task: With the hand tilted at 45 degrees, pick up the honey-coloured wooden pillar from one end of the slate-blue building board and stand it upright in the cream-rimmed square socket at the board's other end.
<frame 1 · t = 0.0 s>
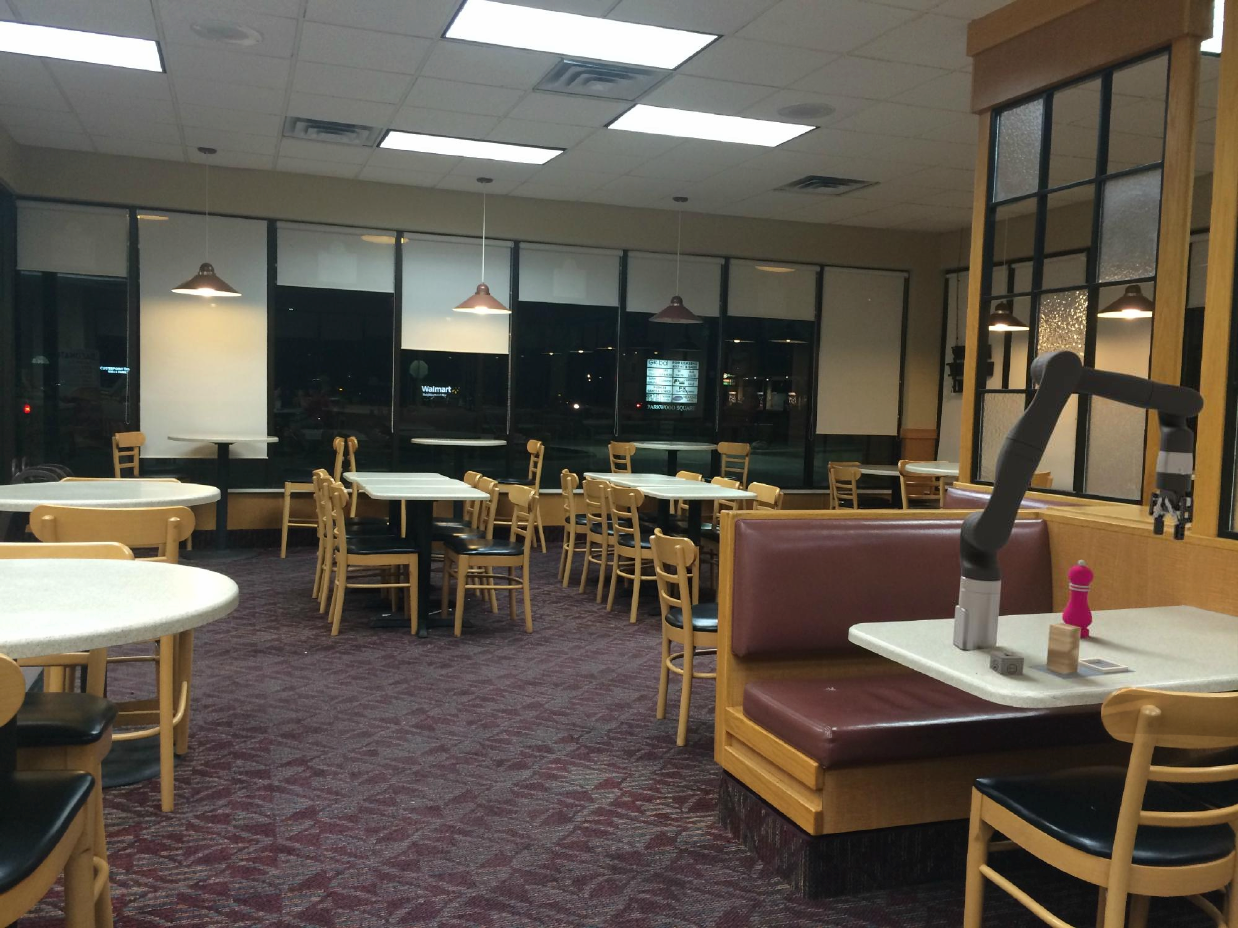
hand: (1168, 537, 233), 29 cm above the table, tool pointing down, fingers open, 8 cm apart
dice cube: (1005, 678, 209), on the table
building board: (1080, 673, 215), on the table
pepper mill: (1075, 635, 254), on the table
wooden pillar: (1061, 670, 212), point 1 cm above the table, touching building board
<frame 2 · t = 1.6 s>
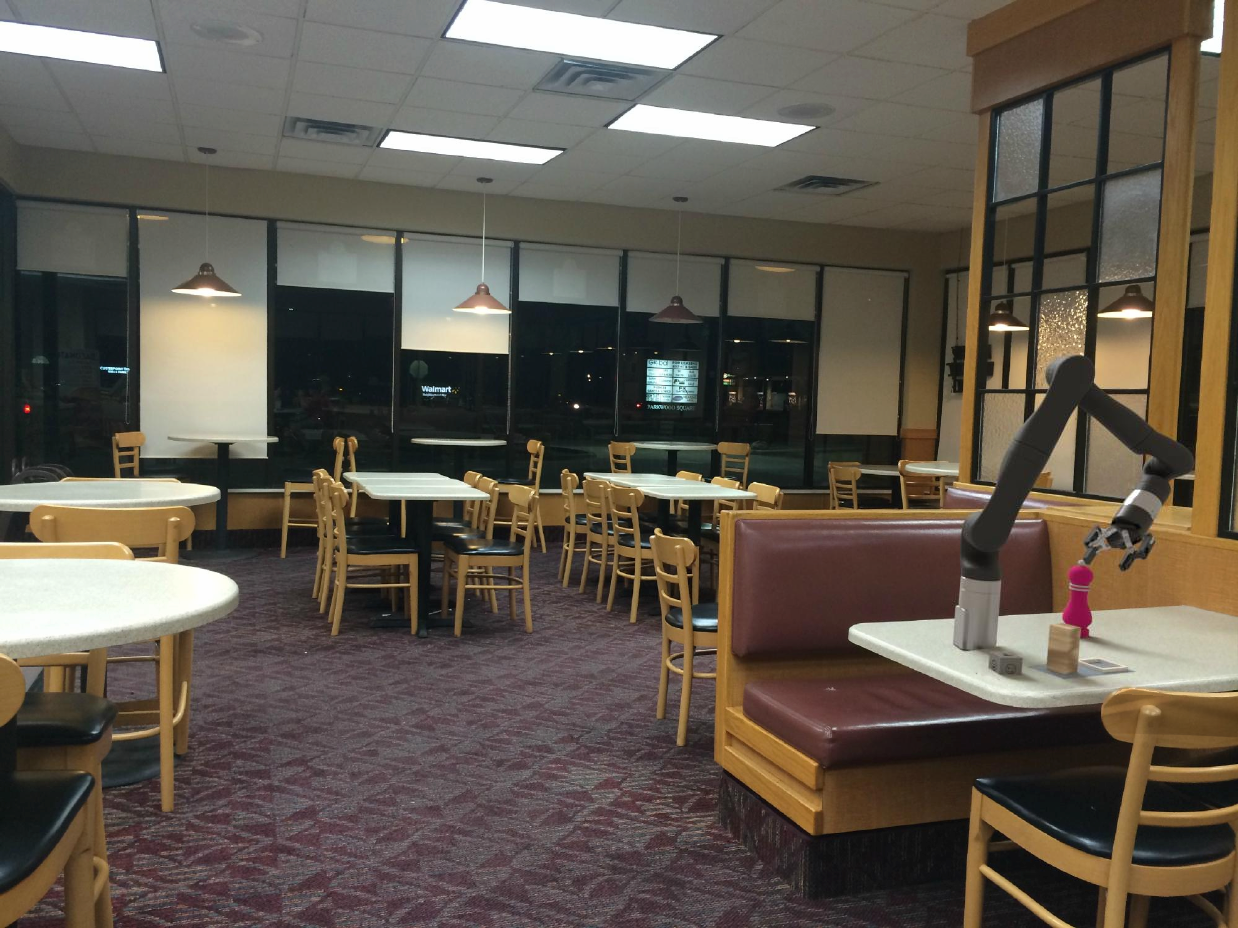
hand: (1103, 565, 216), 24 cm above the table, tool tilted 45°, fingers open, 8 cm apart
nothing on the table moved.
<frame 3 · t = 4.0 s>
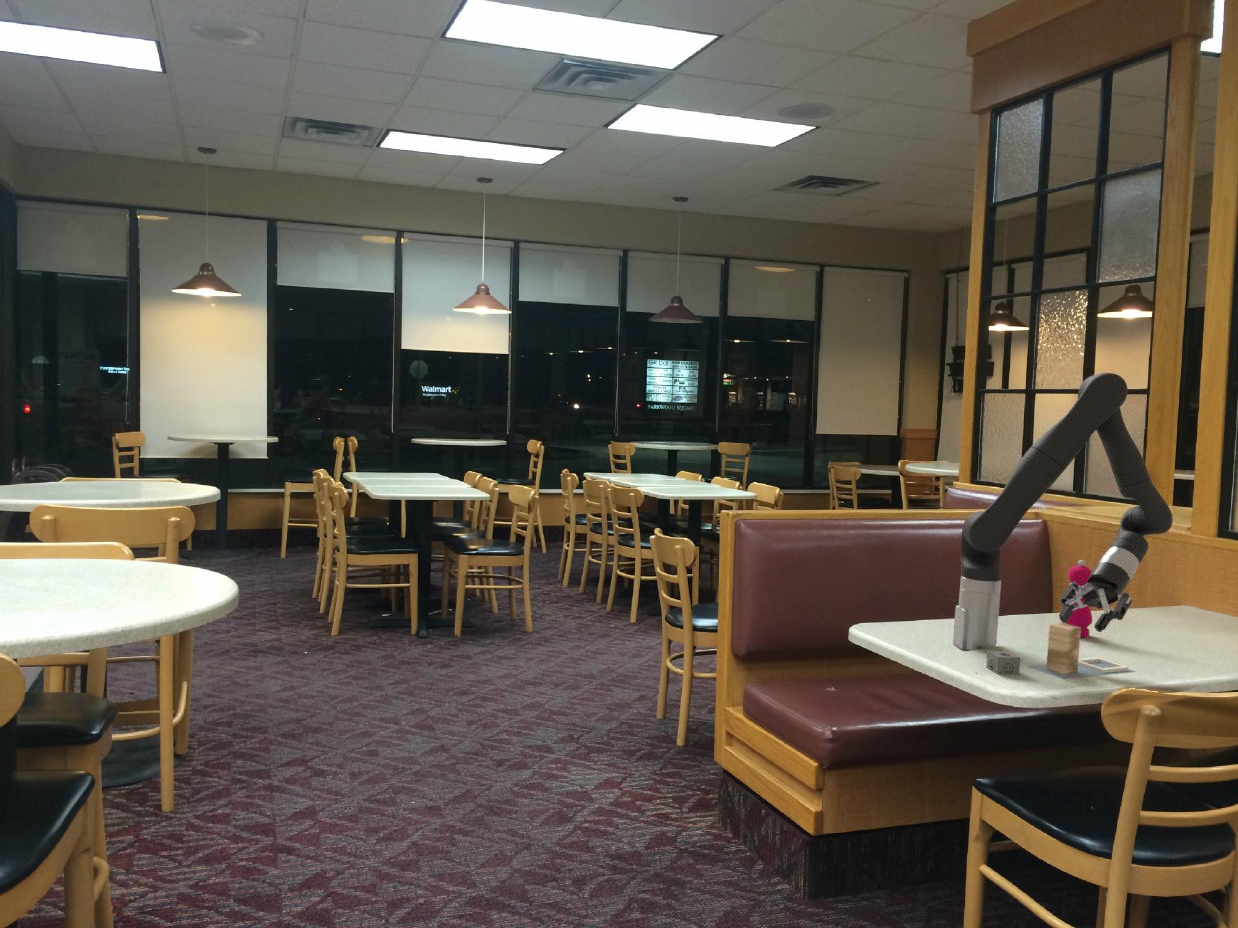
hand: (1079, 624, 214), 11 cm above the table, tool tilted 45°, fingers open, 8 cm apart
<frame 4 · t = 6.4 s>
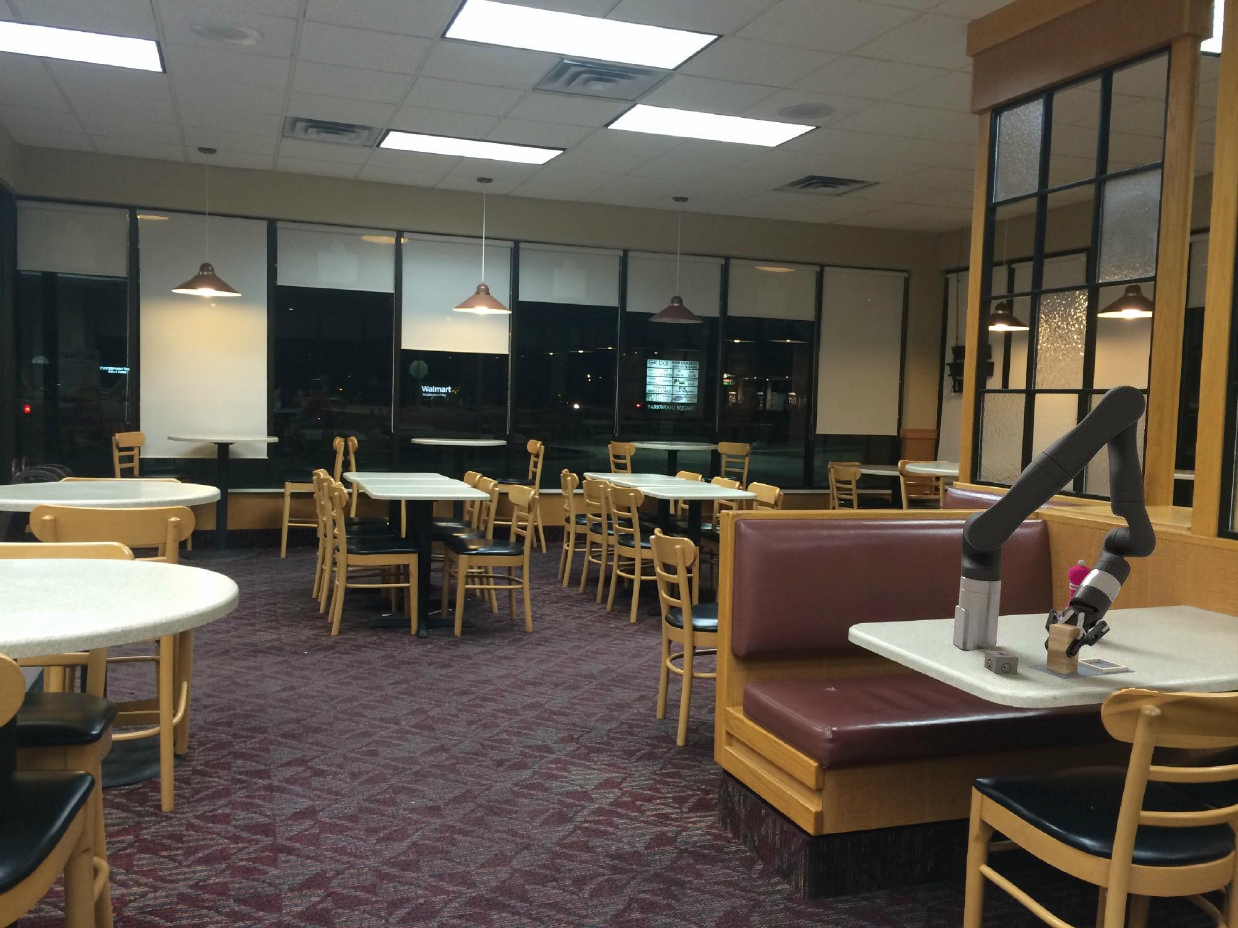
hand: (1058, 652, 211), 6 cm above the table, tool tilted 45°, fingers closed on wooden pillar, 4 cm apart
wooden pillar: (1061, 670, 212), point 1 cm above the table, touching building board, gripper
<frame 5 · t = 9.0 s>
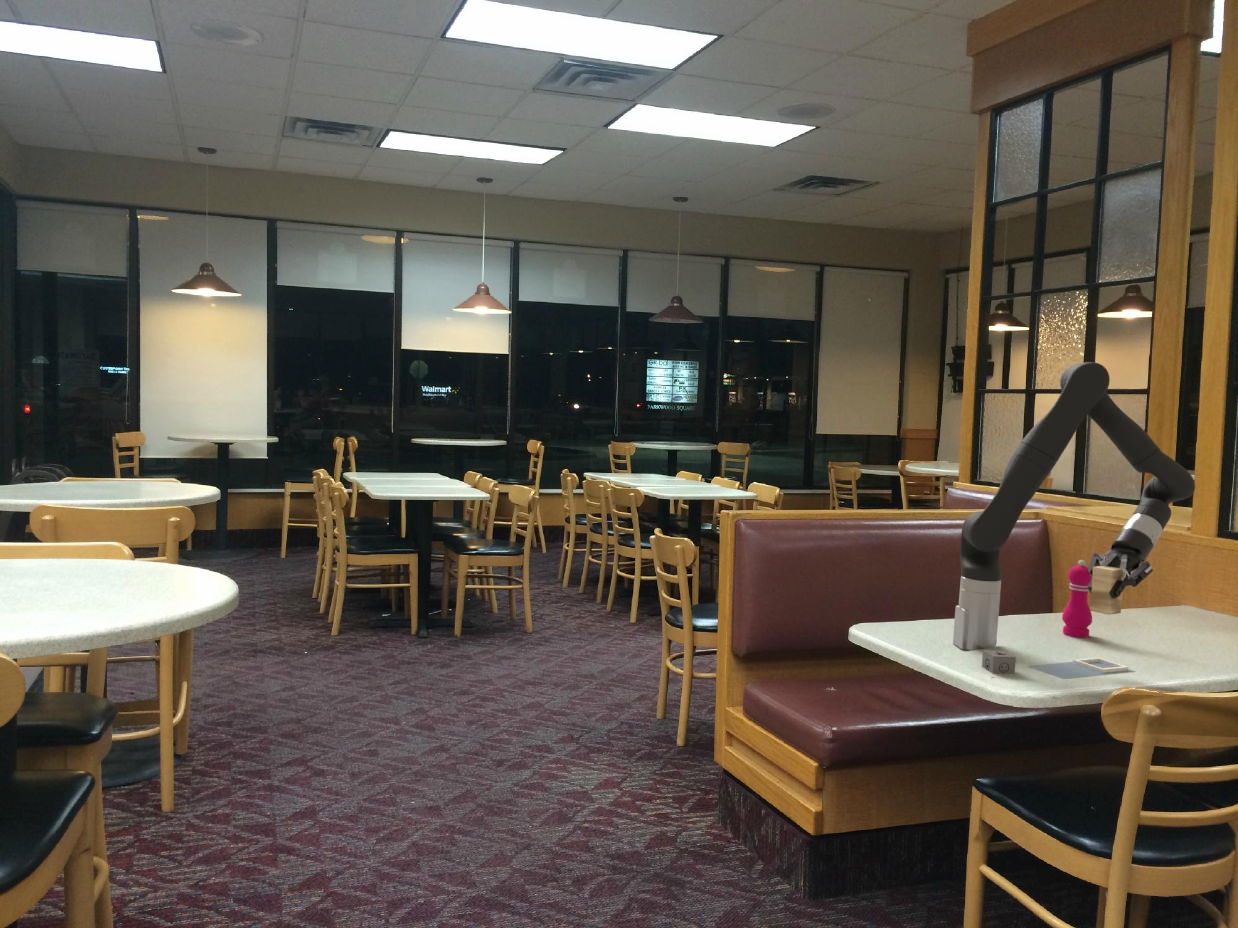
hand: (1101, 593, 215), 18 cm above the table, tool tilted 45°, fingers closed on wooden pillar, 4 cm apart
wooden pillar: (1105, 611, 216), point 14 cm above the table, touching gripper
when the fingers open (7 cm above the table, at t = 11.9 s): wooden pillar drops 2 cm, resting on building board.
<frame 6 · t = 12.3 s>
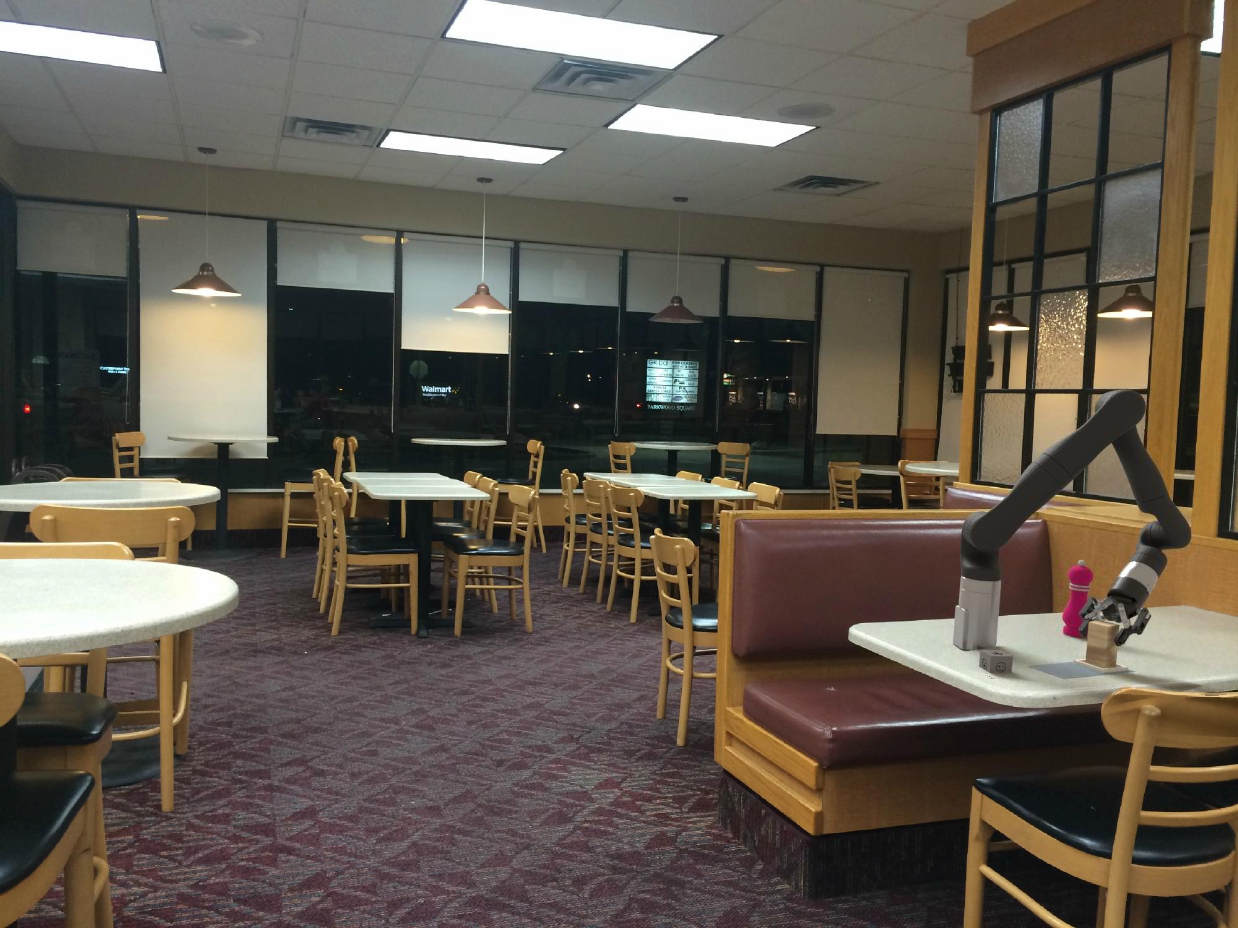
hand: (1099, 639, 216), 8 cm above the table, tool tilted 45°, fingers open, 8 cm apart
wooden pillar: (1100, 666, 217), point 1 cm above the table, touching building board
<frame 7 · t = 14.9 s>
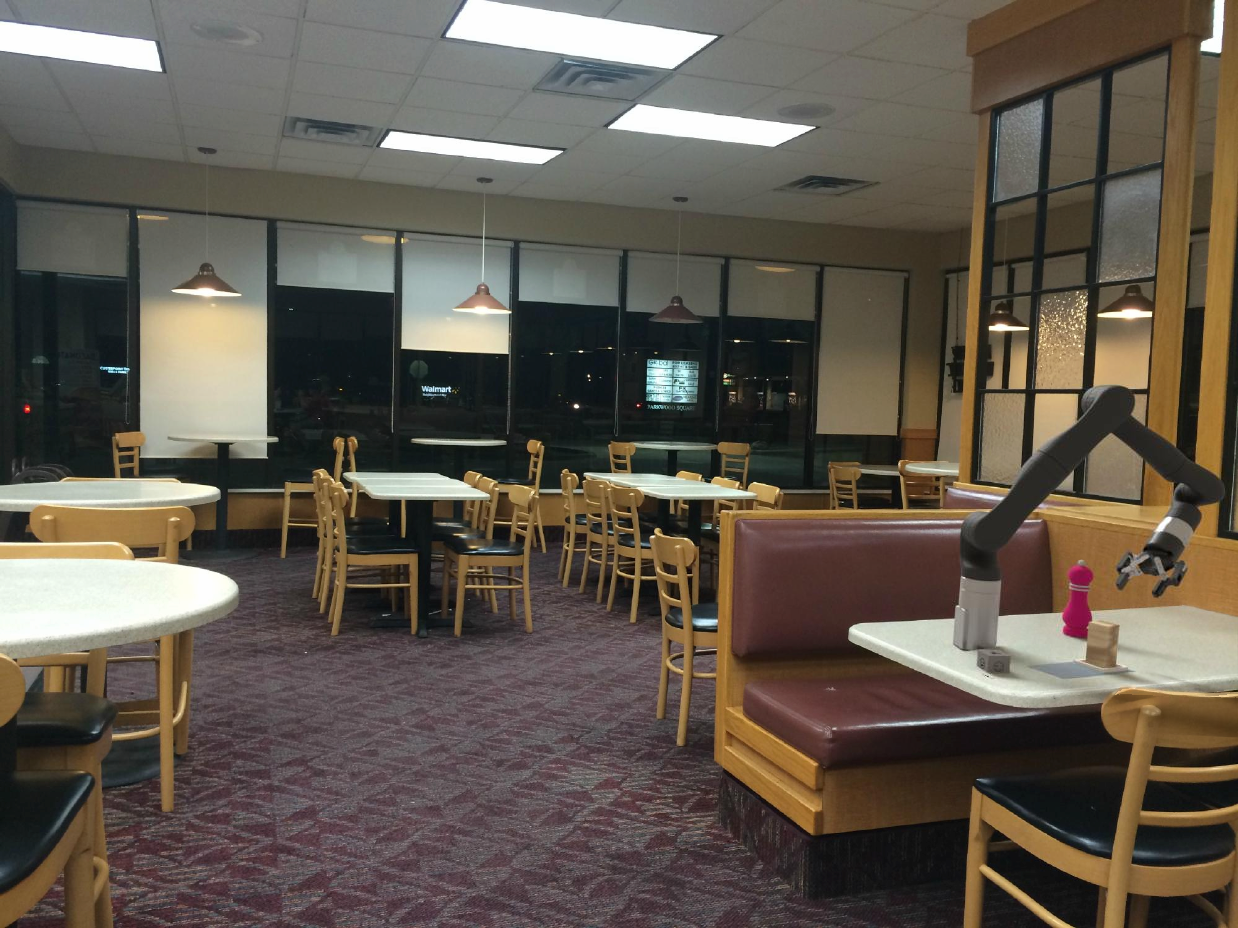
hand: (1136, 591, 222), 18 cm above the table, tool tilted 45°, fingers open, 8 cm apart
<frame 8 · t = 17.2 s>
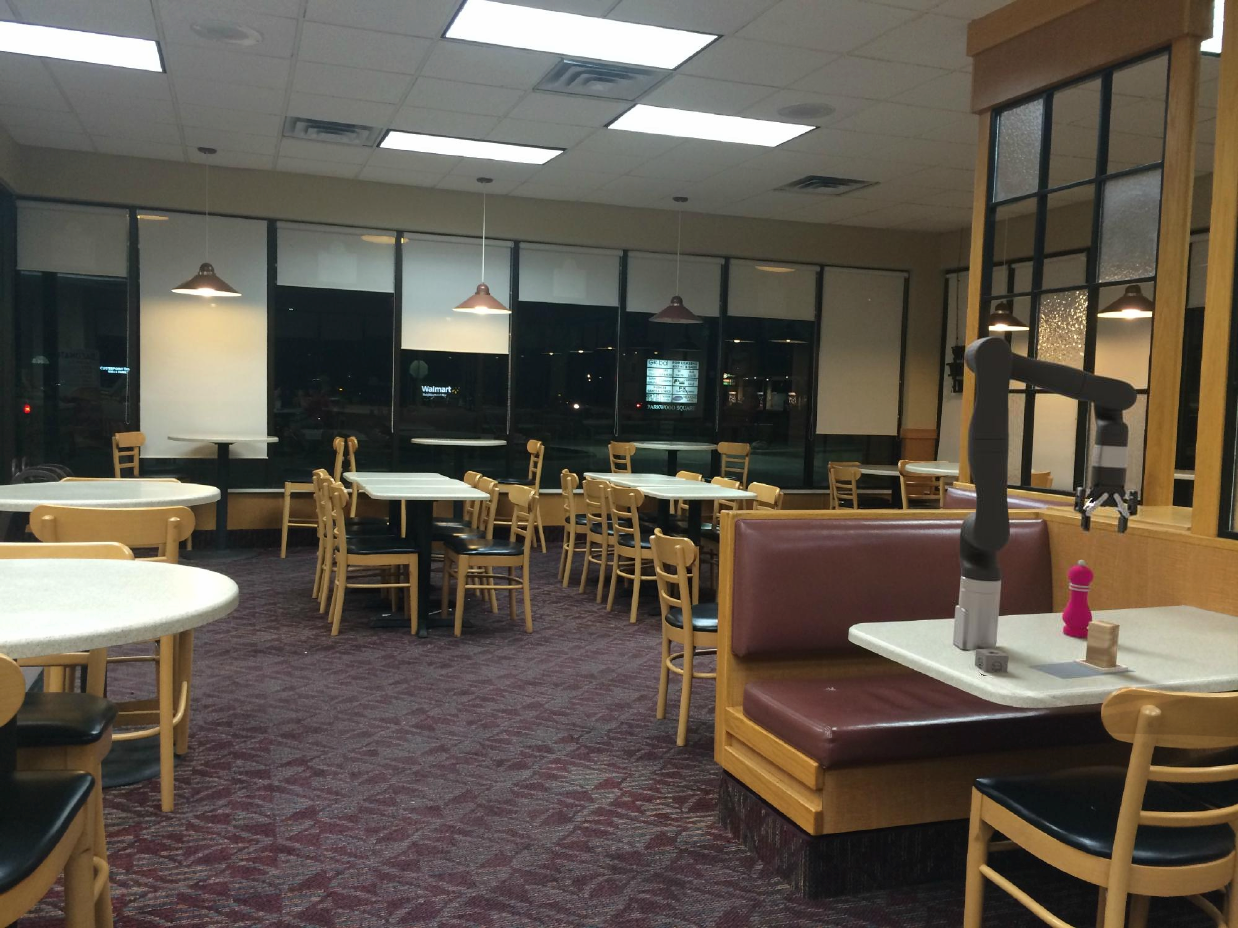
hand: (1103, 531, 231), 30 cm above the table, tool pointing down, fingers open, 8 cm apart
at the end: wooden pillar 0.1 cm from the target spot on the building board, point 1.2 cm above the building board's base; wooden pillar tilted 0°; the gripper is holding nothing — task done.
